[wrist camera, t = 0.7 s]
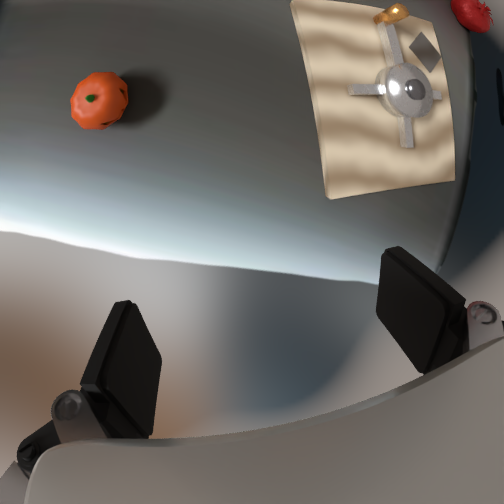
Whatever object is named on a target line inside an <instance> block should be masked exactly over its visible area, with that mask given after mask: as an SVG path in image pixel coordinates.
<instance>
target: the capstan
mask: <svg viewBox="0 0 504 504" xmlns="http://www.w3.org/2000/svg"><path fill="white" fill-rule="evenodd" d="M408 16H409V11H408V10H407V8H406V7H405V6H404V5H402V4H400V3H396V4H395V5H393V6H391V7H389V8H387V9H385V10H384V11H382V12H380V13H378V14H377V15H375V16H374V17H373V20H374V22H375V24H376V25H377V28H378V31H379V35H380V39H381V42H382V46H383V50H384V54H385V58H386V63H387V67H386V68H383V69H382V70H380V71H379V73H378V74H377V76H376V79H375V84H350V85H347V88H348V94H349V95H377V98H378V100H379V102H380V104H381V105H382V107H383V108H384V109H385V110H386V111H387V112H388V113H390V114H391V115H393V116H396V117H397V119H398V128H399V137H400V147H405V148H412V147H414V146H413V134H412V125H411V117H414V118H419V117H423V116H425V115H427V114H428V113H429V111H430V110H431V107H432V104H433V99H434V100H442V97H441V91H436V90H432V87H431V84H430V82H429V80H428V78H427V76H426V75H425V74H424V72H423V71H422V70H421V69H419V68H418V67H417V66H415V65H413V64H411V63H404V61H403V57H402V53H401V49H400V45H399V41H398V38H397V34H396V31H395V28H394V24H393V23H396V22H398V21H400V20H402V19H405V18H407V17H408Z"/></svg>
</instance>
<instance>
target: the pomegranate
mask: <svg viewBox="0 0 504 504" xmlns="http://www.w3.org/2000/svg"><path fill="white" fill-rule="evenodd" d="M451 8H452V11H453V13H454V14H455V16H456V18H457V20H458V21H459V22H460V24H461V25H463V26H464V27H466V28H467V29H469V30H470V31H474V32H477V33H484V32H487V31H488V30H489V28H490V19H491V17H490V15H489V14H491V13H490V12H488V11H491V10H490V9H489V7H487V6H486V7H485V2H484V4H481V3H480V2H479V1H478V0H451ZM491 20H492V19H491ZM492 23H493V20H492Z"/></svg>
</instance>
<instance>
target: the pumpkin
mask: <svg viewBox="0 0 504 504" xmlns="http://www.w3.org/2000/svg"><path fill="white" fill-rule="evenodd" d="M70 101H71V108H72V118H74V119H75V120H76V121H77V122H78V123H79V124H80V126H81V127H82V128H84V129H101V130H103V129H105V128H107V127H108V126H109V125H111V124H112V123H114V122H115V121H117V120H119V119H120V118H121V116H122V114H123V111H124V109H125V108H126V106H127V104H128V93H127V84H126V83H125V82H124V81H123V80H121V79H120V78H119V77H118V76H117V75H116V74H115V73H114V72H94V73H92V74H91V75H90V76H88V77H87V78H86V79H84V80H83V81H81V82H80V83H79V84H78V85H77V88H76V90H75V92H74V94H73V96H72V98H71V100H70Z"/></svg>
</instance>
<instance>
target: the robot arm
mask: <svg viewBox="0 0 504 504" xmlns="http://www.w3.org/2000/svg"><path fill="white" fill-rule="evenodd" d="M465 301H466V299H465V298H464V297H463V296H462V295H460V294H459V293H458V292H457V291H456V290H455V289H453V288H452V287H451V286H450V285H449V284H447V283H446V282H445V281H444V280H443V279H441V278H440V277H439V276H438V275H437V274H435V273H434V272H433V271H432V270H430V269H429V268H428V267H427V266H425V265H424V264H423V263H421V262H420V261H419V260H418V259H416V258H415V257H414V256H412V255H411V254H410V253H408V252H407V251H406V250H404V249H403V248H402V247H400V246H396V247H392V248H388V249H386V250H385V252H384V253H383V254H382V256H381V267H380V278H379V288H378V297H377V305H376V313H377V316H378V318H379V319H380V321H381V322H382V323H383V324H384V325H385V327H386V328H387V330H388V331H389V332H390V334H391V335H392V336H393V338H394V339H395V340H396V342H397V343H398V344H399V346H400V347H401V348H402V350H403V351H404V353H405V354H406V355H407V357H408V358H409V360H410V361H411V362H412V363H413V365H414V367H415V368H416V369H417V371H418V372H420V373H423V374H424V375H423V376H421V377H419V378H417V379H415V380H413V381H411V382H408V383H406V384H404V385H402V386H399V387H397V388H395V389H392V390H390V391H388V392H385V393H383V394H380V395H378V396H375V397H372V398H370V399H367V400H365V401H362V402H359V403H356V404H353V405H350V406H347V407H344V408H341V409H338V410H335V411H331V412H328V413H325V414H321V415H318V416H314V417H310V418H307V419H303V420H299V421H295V422H291V423H286V424H281V425H277V426H272V427H267V428H261V429H256V430H250V431H243V432H237V433H229V434H222V435H212V436H202V437H188V438H168V439H148V438H149V435H152V433H153V426H154V416H155V408H156V400H157V392H158V386H159V379H160V372H161V366H162V358H161V355H160V353H159V351H158V349H157V347H156V345H155V343H154V341H153V339H152V337H151V335H150V333H149V331H148V329H147V326H146V324H145V322H144V320H143V318H142V315H141V313H140V311H139V309H138V306H137V305H136V304H135V303H132V302H131V301H130V300H126V301H120V302H116V303H115V304H114V306H113V308H112V310H111V312H110V314H109V316H108V318H107V320H106V322H105V324H104V327H103V329H102V331H101V333H100V336H99V338H98V340H97V342H96V345H95V347H94V349H93V352H92V354H91V357H90V359H89V362H88V364H87V367H86V369H85V371H84V374H83V377H82V379H81V382H80V385H81V386H82V387H81V390H80V392H79V391H78V390H68V391H66V392H63V393H62V394H60V395H59V396H58V397H57V398H56V399H55V400H54V402H53V404H52V407H51V416H52V420H51V421H50V422H48V423H47V424H46V425H44V426H43V427H41V428H40V429H38V430H37V431H36V432H34V433H33V434H31V435H30V436H28V437H27V438H26V439H24V440H23V441H22V442H21V444H20V445H19V447H18V450H17V460H18V463H17V462H16V461H14V462H13V463H12V464H11V465H10V467H9V468H8V469H7V471H6V472H5V473H4V474H3V476H2V477H1V478H0V504H504V321H501V316H500V314H499V311H498V310H497V309H496V308H495V307H494V306H493V305H491V304H489V303H487V302H483V301H475V302H472V303H471V304H469V306H468V308H465V307H464V304H465Z"/></svg>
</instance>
